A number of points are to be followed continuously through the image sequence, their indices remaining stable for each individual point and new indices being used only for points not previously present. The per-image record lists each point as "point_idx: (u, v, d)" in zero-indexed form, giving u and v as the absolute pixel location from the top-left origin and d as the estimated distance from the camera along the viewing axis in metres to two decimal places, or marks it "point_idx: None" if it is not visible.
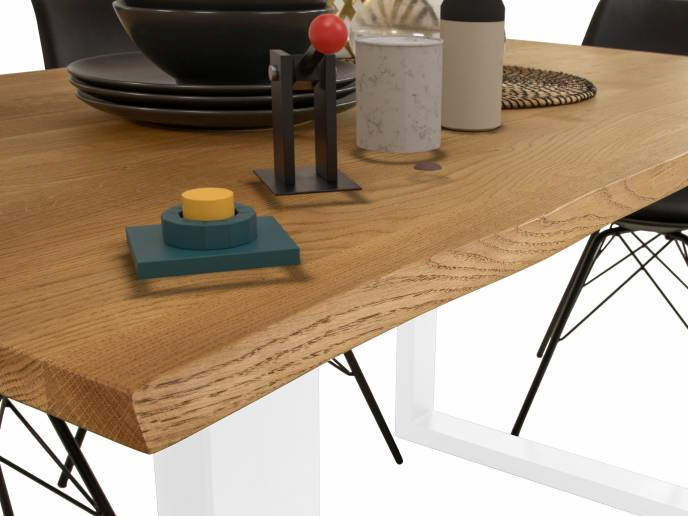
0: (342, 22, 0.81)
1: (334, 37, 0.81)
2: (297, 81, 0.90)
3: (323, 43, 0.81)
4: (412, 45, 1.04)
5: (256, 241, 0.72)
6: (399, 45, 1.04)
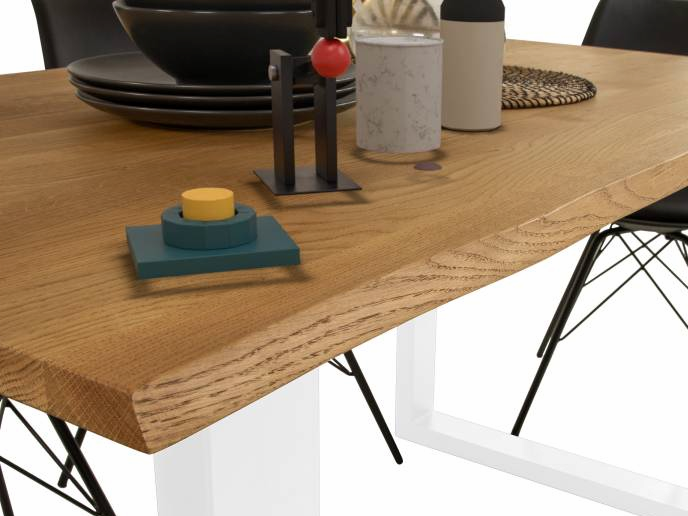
0: (345, 48, 0.81)
1: (336, 65, 0.81)
2: (297, 84, 0.90)
3: (325, 70, 0.81)
4: (412, 45, 1.04)
5: (256, 241, 0.72)
6: (399, 45, 1.04)
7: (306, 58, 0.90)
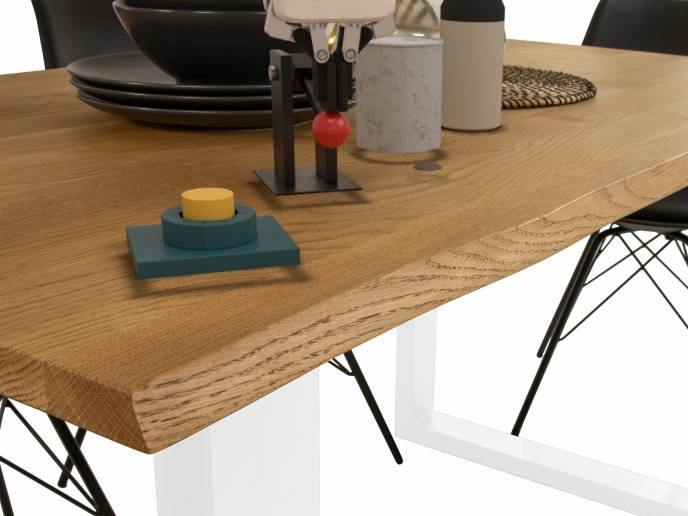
0: (346, 129, 0.83)
1: (335, 145, 0.84)
2: (295, 90, 0.91)
3: (324, 146, 0.84)
4: (412, 45, 1.04)
5: (256, 241, 0.72)
6: (399, 45, 1.04)
7: (308, 69, 0.90)
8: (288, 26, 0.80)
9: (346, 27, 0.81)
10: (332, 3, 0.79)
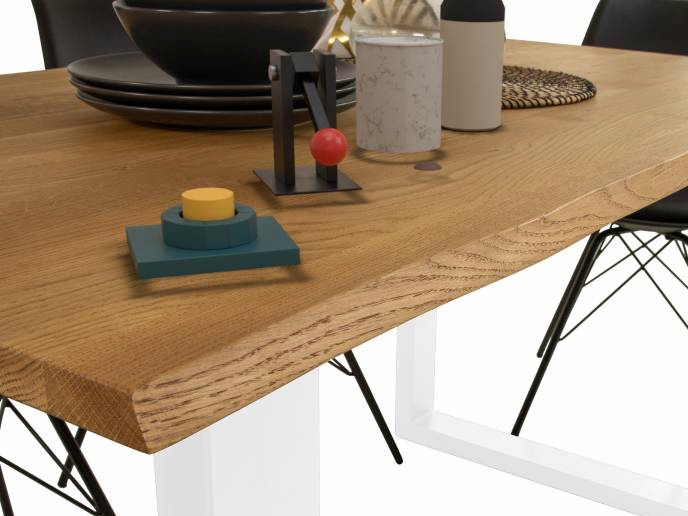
0: (344, 150, 0.85)
1: (332, 164, 0.85)
2: (295, 91, 0.91)
3: None
4: (412, 45, 1.04)
5: (256, 241, 0.72)
6: (399, 45, 1.04)
7: (308, 72, 0.90)
8: None
9: None
10: None
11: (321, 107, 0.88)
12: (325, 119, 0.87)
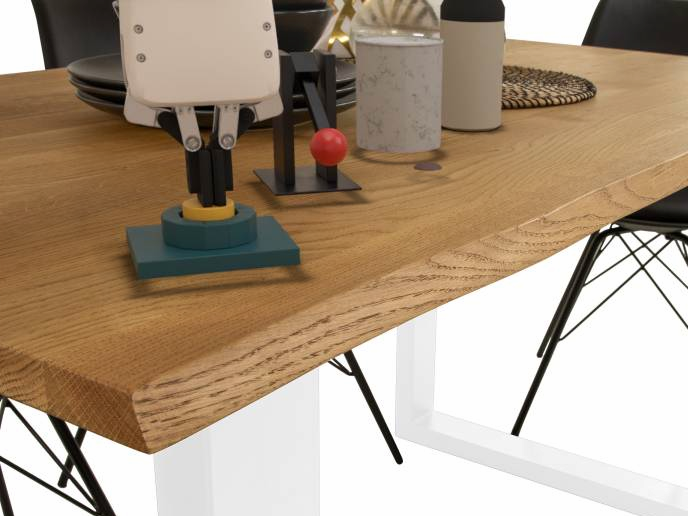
0: (344, 150, 0.85)
1: (332, 164, 0.85)
2: (295, 91, 0.91)
3: None
4: (412, 45, 1.04)
5: (256, 241, 0.72)
6: (399, 45, 1.04)
7: (308, 72, 0.90)
8: (151, 110, 0.68)
9: (221, 109, 0.69)
10: (201, 84, 0.67)
11: (321, 107, 0.88)
12: (325, 119, 0.87)
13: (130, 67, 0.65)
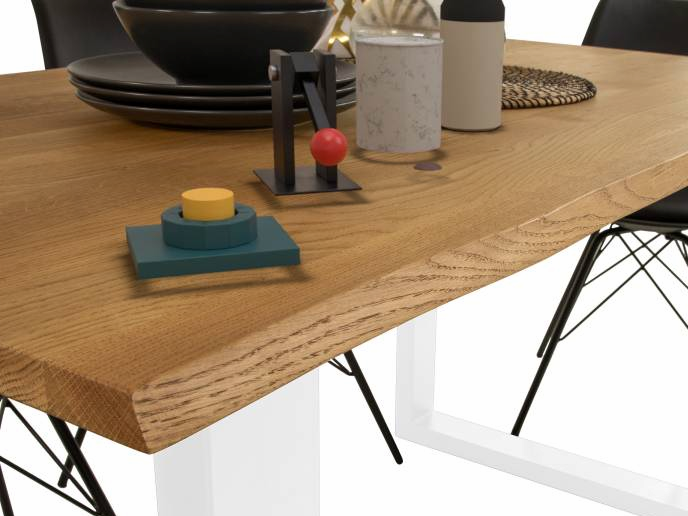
0: (344, 150, 0.85)
1: (332, 164, 0.85)
2: (295, 91, 0.91)
3: None
4: (412, 45, 1.04)
5: (256, 241, 0.72)
6: (399, 45, 1.04)
7: (308, 72, 0.90)
8: None
9: None
10: None
11: (321, 107, 0.88)
12: (325, 119, 0.87)
13: None
